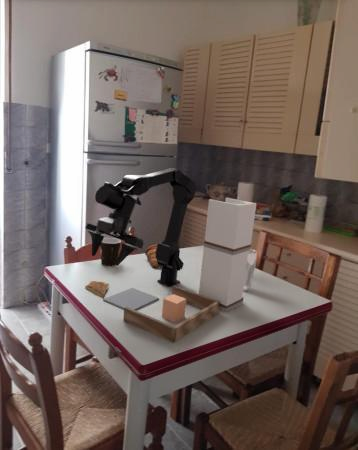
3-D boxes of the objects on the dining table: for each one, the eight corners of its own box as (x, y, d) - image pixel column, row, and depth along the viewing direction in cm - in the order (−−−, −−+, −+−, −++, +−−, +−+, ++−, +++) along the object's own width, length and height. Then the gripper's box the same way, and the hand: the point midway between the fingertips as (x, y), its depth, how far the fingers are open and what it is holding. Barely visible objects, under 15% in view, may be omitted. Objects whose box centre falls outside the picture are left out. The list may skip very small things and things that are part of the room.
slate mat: (132, 289, 133) (132, 287, 133) (158, 299, 127) (158, 297, 127) (103, 300, 122) (103, 298, 122) (130, 312, 115) (131, 310, 115)
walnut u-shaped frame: (173, 296, 130) (174, 285, 129) (218, 313, 120) (220, 301, 119) (123, 320, 110) (124, 307, 109) (173, 343, 100) (174, 329, 99)
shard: (103, 299, 124) (103, 294, 124) (80, 297, 124) (80, 292, 123) (109, 286, 135) (109, 282, 134) (87, 285, 134) (88, 280, 134)
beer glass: (255, 289, 144) (261, 251, 141) (245, 293, 139) (250, 254, 136) (240, 283, 149) (245, 246, 146) (230, 287, 144) (235, 249, 141)
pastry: (184, 266, 164) (186, 248, 163) (154, 269, 156) (155, 251, 154) (165, 254, 178) (166, 238, 176) (135, 257, 170) (137, 240, 168)
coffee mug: (102, 259, 162) (103, 237, 160) (122, 262, 161) (123, 239, 159) (92, 267, 151) (94, 243, 149) (113, 270, 150) (115, 246, 148)
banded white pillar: (242, 303, 130) (256, 203, 122) (225, 311, 122) (239, 205, 114) (215, 292, 137) (227, 197, 130) (198, 300, 129) (209, 199, 121)
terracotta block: (171, 311, 118) (173, 294, 117) (184, 317, 116) (186, 298, 114) (161, 316, 114) (163, 298, 113) (175, 322, 112) (176, 303, 110)
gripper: (84, 199, 115) (65, 247, 113) (135, 216, 107) (116, 267, 106) (103, 208, 125) (86, 252, 124) (151, 224, 118) (134, 271, 116)
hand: (104, 260), depth 117 cm, fingers open, 9 cm apart
